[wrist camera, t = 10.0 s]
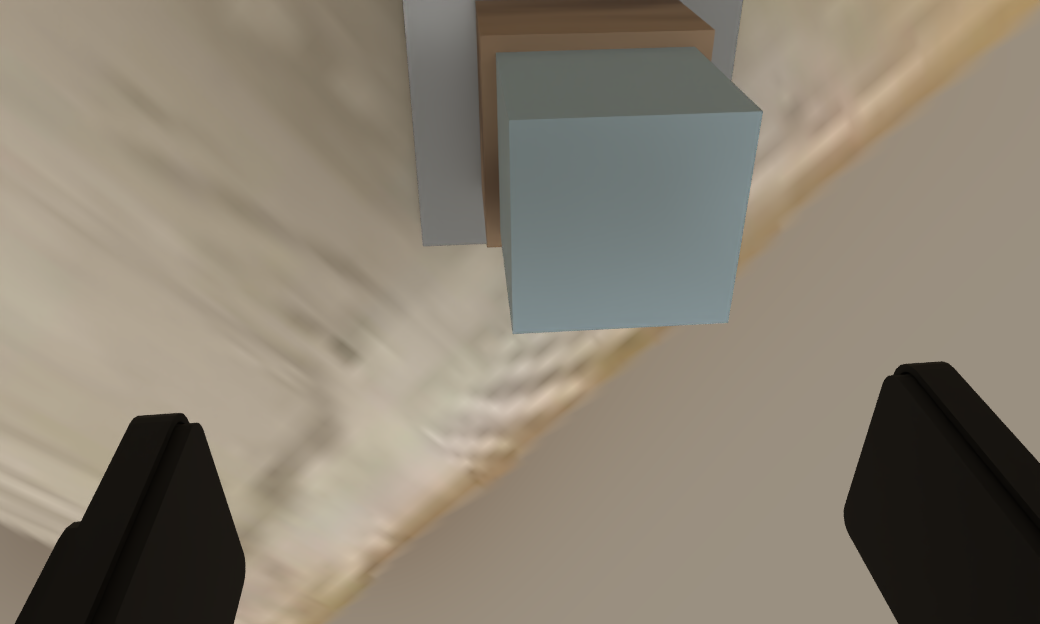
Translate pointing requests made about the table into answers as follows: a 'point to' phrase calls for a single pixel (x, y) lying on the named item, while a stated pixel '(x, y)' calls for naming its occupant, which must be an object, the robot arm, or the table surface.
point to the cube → (621, 187)
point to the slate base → (455, 108)
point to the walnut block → (558, 27)
